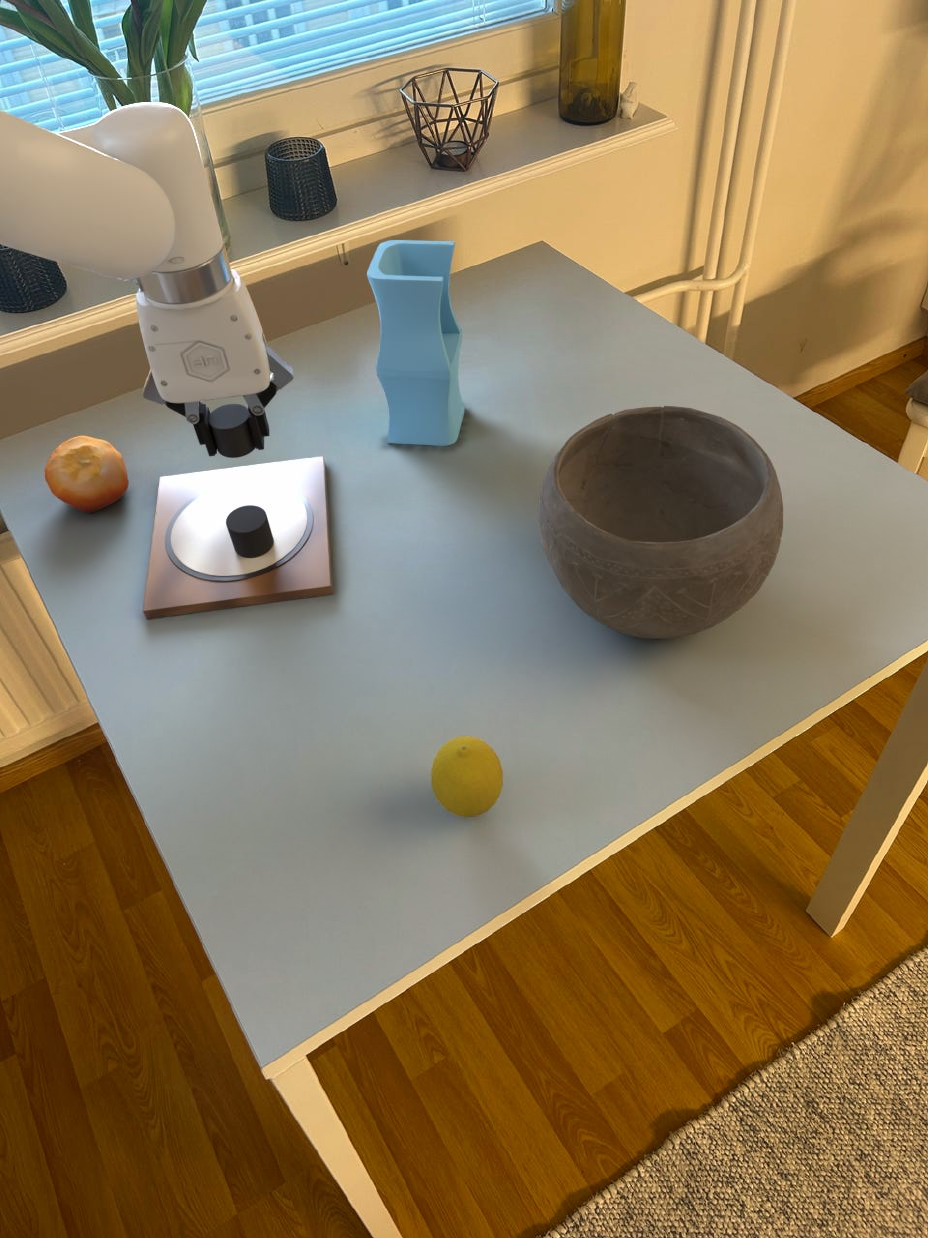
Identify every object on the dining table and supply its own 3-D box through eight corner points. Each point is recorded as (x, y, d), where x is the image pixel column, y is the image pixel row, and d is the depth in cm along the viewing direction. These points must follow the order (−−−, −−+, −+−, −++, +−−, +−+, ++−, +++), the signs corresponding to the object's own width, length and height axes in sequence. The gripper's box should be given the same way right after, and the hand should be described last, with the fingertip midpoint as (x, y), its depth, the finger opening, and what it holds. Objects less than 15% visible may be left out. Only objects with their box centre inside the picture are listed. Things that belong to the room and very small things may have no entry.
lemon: (516, 791, 75) (514, 735, 69) (482, 846, 72) (477, 793, 66) (457, 763, 77) (451, 707, 71) (421, 815, 74) (412, 761, 68)
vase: (455, 446, 105) (442, 281, 89) (387, 442, 106) (363, 278, 91) (466, 404, 110) (456, 240, 95) (401, 401, 111) (380, 238, 96)
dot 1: (216, 460, 91) (206, 431, 88) (218, 435, 93) (208, 406, 91) (257, 455, 91) (249, 426, 88) (258, 429, 93) (249, 401, 91)
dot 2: (233, 560, 93) (224, 535, 90) (234, 533, 95) (226, 507, 93) (274, 555, 93) (266, 529, 90) (274, 528, 95) (266, 502, 93)
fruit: (103, 447, 106) (98, 413, 98) (142, 503, 105) (139, 474, 98) (36, 479, 102) (25, 447, 95) (75, 537, 102) (67, 510, 95)
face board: (146, 619, 90) (142, 610, 89) (162, 484, 103) (159, 475, 102) (332, 594, 91) (330, 584, 90) (325, 464, 104) (323, 454, 103)
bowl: (494, 585, 90) (488, 464, 79) (642, 487, 98) (656, 364, 87) (656, 717, 79) (677, 598, 68) (808, 594, 87) (849, 470, 76)
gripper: (77, 306, 75) (148, 480, 89) (284, 280, 76) (323, 457, 90) (89, 260, 80) (155, 432, 94) (283, 237, 81) (320, 410, 95)
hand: (236, 442), depth 92 cm, fingers closed on dot 1, 4 cm apart
